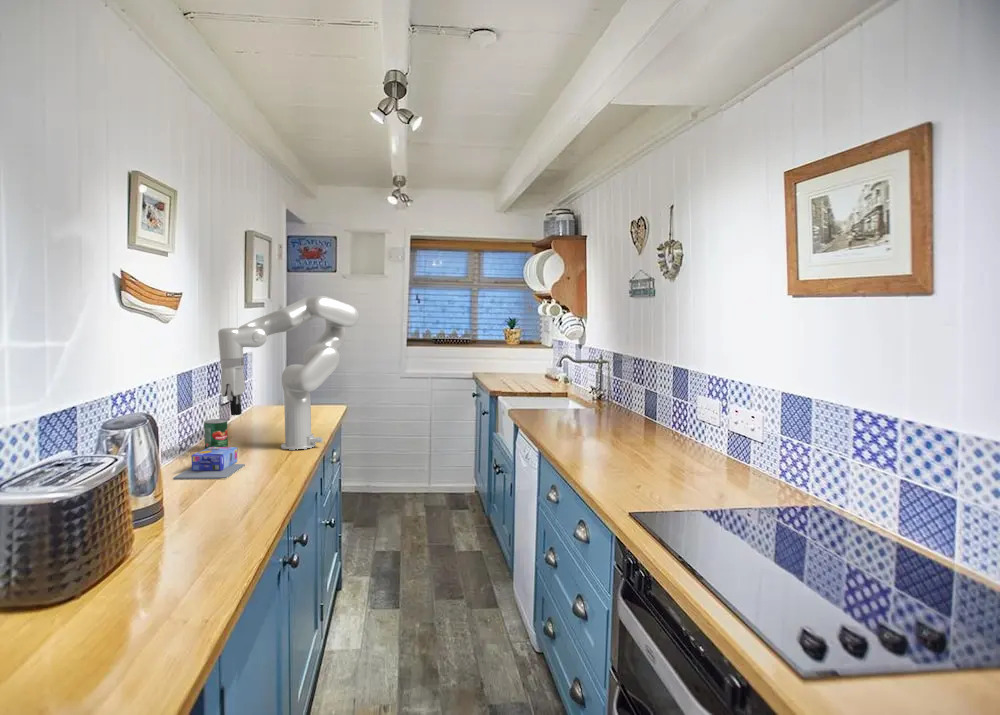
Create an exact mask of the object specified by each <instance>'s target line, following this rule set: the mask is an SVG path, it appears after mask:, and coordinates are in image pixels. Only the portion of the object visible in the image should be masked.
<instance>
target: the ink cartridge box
mask: <svg viewBox="0 0 1000 715" xmlns="http://www.w3.org/2000/svg"><path fill="white" fill-rule="evenodd" d="M237 463H238V446H237V447H233V446H228V447H209V448H207V449H205V448H204V449H203V450H200V451H198V452H196V453H193V454H191V467H192V471H222V470H224V469H225V468H227V467H229V466H231V465H233V464H237Z"/></svg>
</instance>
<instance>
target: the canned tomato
mask: <svg viewBox="0 0 1000 715" xmlns="http://www.w3.org/2000/svg"><path fill="white" fill-rule="evenodd" d="M203 424H204V425H203V427H204V428H203V429H204V450H205V449H207V448H209V447H229V440H228V437H229V436H228V434H229V433H228V431H229V430H228V419H226V418H213V419H207V420H205V421H204V420H203Z"/></svg>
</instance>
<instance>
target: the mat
mask: <svg viewBox="0 0 1000 715" xmlns="http://www.w3.org/2000/svg"><path fill="white" fill-rule="evenodd" d="M243 466H244V467H245V466H246V463H234V464H233V465H231V466H229V467H227V468H225V469H224V470H222V471H192V466H191V467H189V468H187V469H186V470H184V471H182V472H181V473H178V474H177V475H176V476H173V479H172V480H221V479H220V478H227V477H228V478H230V477H231V476H232V474H233V473H234V474H236V473H237V472H238V471H240V470H241V469H243V468H244V467H243ZM242 467H243V468H242ZM240 468H241V469H240ZM239 469H240V470H239ZM237 470H238V471H237ZM236 471H237V472H236ZM235 472H236V473H235ZM234 474H233V475H234ZM230 475H231V476H230ZM229 476H230V477H229ZM228 478H227V479H228Z"/></svg>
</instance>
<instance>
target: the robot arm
mask: <svg viewBox="0 0 1000 715" xmlns="http://www.w3.org/2000/svg"><path fill="white" fill-rule="evenodd" d="M317 318H320V319H325V329H324V332H323V333H322V334H321V336H319V338H318V339H317V340H316V341H315V342H314V343H313V344H312V345H311V346H310V347H309V348H308V349H307V350H306V351H305V353H304V354H303V362H304V364H305V365H304V364H298V363H296V364H295V363H294V364H293V363H292V364H290V365H288V366H287V367H285V368H284V370H283V372H282V374H281V385H282V390H283V391H282V392H283V399H284V400H283V401H284V402H283V403H284V442H283V443H282V444H280V448H281V449H282V450H285V449H289V450H288V451H299V450H298V449H304V450H308V449H307V448H310V449H313V448H315V447H316V446H317V444H316V443H318V444H320V443H323V440H324V438H323V437H321V436H316V437H315V435H314V433H312V409H311V408H312V407H311V406H312V402H311V399H312V398H311V393H310V392H314V391H315V390H316V389H318V388H319V387H320V386H322V384H323V383H324V382H325V381H326V380H327V379H328V378H329V377H330V376H331V374H333V372H334V371H335V370H336V369H337V367H338V366H339V364H340V358H341V357H340V353H339V350H340V348H341V347H342V346H343V345H344V342H345V339H346V328H352V327H354V326H355V325H357V324H358V322H359V320H360V314H359V312H358V310H357V307H355V306H353V305H351V304H350V303H349V304H348V303H346V302H343V301H341V300H338V299H335V298H333V297H329V296H326V295H316V294H315V295H308V296H306V297H304V298H302V299H300V300H298V301H295V302H294V303H291V304H289V305H287V306H285V307H281V309H278V310H275V311H273V312H271V313H268V314H266V315H262V316H259V317H257V318H255V319H253V320H250V321H249V322H247V323H245V324H243V325H241V326H239V327H226V328H225V327H224V328H220V329H219V330H218V332H217V334H218V346H219V362H220V369H221V373H220V375H221V376H220V386H221V388H220V389H221V396H222V397H224V398H225V397H227V398H226V399H227V401H228V402H229V407H230V416H240V415H242V412H243V411H242V396H243V393H245V391H246V384H245V382H246V381H245V374H244V369H243V368H245V362H244V360H245V359H244V348H259V347H262V346H263V345H265V344H266V342H267V340H268V337H269V336H270V335H271V336H272V335H275V334H279V333H285V332H289V331H292V330H294V329H296V328H298V327H300V326H302V325H304V324H306V323H308V322H310V321H312V320H314V319H317ZM314 446H315V447H314ZM312 447H313V448H312ZM295 449H297V450H295Z"/></svg>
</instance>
